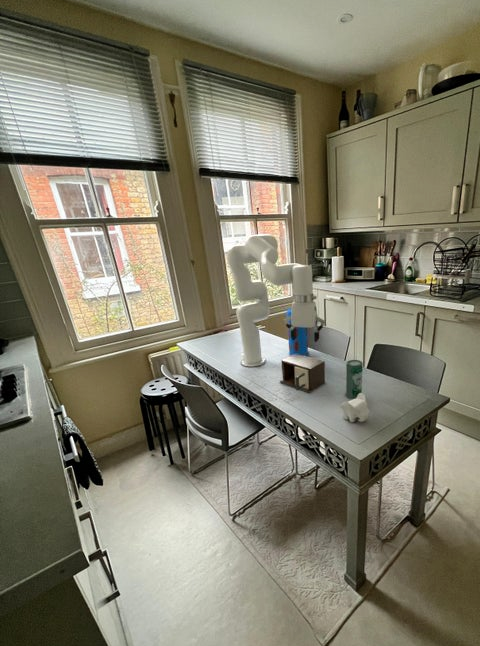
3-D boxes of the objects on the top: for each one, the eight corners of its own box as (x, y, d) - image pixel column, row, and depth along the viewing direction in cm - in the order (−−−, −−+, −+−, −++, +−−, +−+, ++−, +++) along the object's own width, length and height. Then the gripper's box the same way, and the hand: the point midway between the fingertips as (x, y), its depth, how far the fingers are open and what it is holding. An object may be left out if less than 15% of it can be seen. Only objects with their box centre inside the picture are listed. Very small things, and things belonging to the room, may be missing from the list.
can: (357, 400, 130) (358, 366, 124) (344, 396, 133) (344, 364, 127) (363, 393, 135) (364, 361, 128) (349, 390, 138) (350, 358, 131)
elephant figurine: (360, 430, 110) (361, 409, 107) (335, 417, 119) (335, 397, 115) (376, 419, 116) (378, 398, 113) (351, 408, 124) (351, 388, 121)
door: (287, 389, 139) (286, 371, 135) (296, 384, 143) (295, 366, 139) (300, 394, 134) (299, 375, 130) (309, 388, 138) (308, 370, 134)
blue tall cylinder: (306, 357, 175) (304, 312, 165) (287, 356, 177) (284, 312, 167) (309, 350, 185) (308, 307, 174) (291, 349, 187) (289, 307, 177)
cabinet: (280, 383, 147) (278, 361, 143) (296, 374, 155) (295, 353, 151) (309, 393, 137) (308, 370, 132) (325, 383, 145) (324, 361, 141)
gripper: (327, 297, 123) (327, 338, 130) (286, 296, 129) (288, 336, 136) (322, 301, 117) (323, 344, 124) (279, 300, 122) (282, 341, 129)
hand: (305, 340), depth 130 cm, fingers open, 9 cm apart
